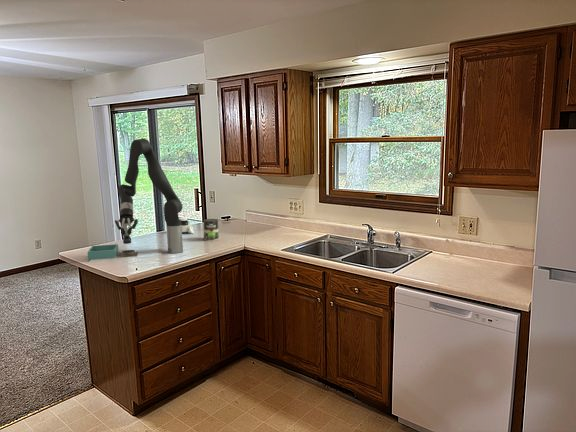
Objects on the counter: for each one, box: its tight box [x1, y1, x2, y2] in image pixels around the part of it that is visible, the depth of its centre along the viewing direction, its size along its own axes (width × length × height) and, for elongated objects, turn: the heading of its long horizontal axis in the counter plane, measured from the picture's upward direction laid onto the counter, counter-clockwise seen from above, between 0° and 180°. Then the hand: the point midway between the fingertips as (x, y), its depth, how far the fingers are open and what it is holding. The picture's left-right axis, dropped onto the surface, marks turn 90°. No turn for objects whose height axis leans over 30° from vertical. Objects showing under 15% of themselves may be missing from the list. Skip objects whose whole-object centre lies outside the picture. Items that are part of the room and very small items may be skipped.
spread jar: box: [179, 216, 195, 235], centre depth 326 cm, size 12×11×12 cm
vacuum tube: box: [122, 223, 132, 245], centre depth 259 cm, size 5×5×12 cm
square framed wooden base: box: [116, 249, 139, 259], centre depth 261 cm, size 11×11×3 cm
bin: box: [87, 243, 120, 262], centre depth 260 cm, size 15×15×6 cm
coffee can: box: [203, 218, 220, 242], centre depth 304 cm, size 10×10×14 cm
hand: (126, 234), depth 257 cm, fingers closed on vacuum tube, 3 cm apart
